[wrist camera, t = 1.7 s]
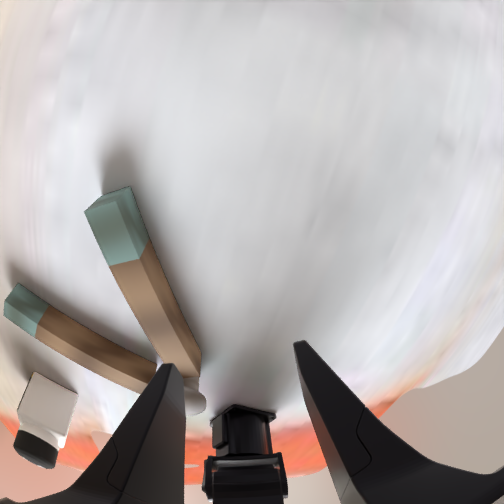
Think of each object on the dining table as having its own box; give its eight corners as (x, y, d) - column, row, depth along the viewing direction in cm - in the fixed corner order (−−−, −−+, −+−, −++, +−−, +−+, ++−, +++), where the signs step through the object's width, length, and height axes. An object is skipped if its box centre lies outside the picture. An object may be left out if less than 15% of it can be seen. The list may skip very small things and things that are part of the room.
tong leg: (201, 353, 26) (200, 376, 24) (178, 356, 26) (175, 379, 24) (130, 186, 18) (116, 200, 15) (100, 196, 18) (84, 211, 16)
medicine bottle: (33, 369, 28) (4, 442, 17) (79, 393, 30) (58, 469, 20) (34, 390, 30) (11, 453, 20) (74, 411, 33) (57, 476, 22)
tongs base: (217, 369, 28) (216, 402, 24) (189, 392, 30) (187, 421, 26) (22, 260, 20) (0, 286, 16) (16, 298, 22) (-2, 323, 18)
